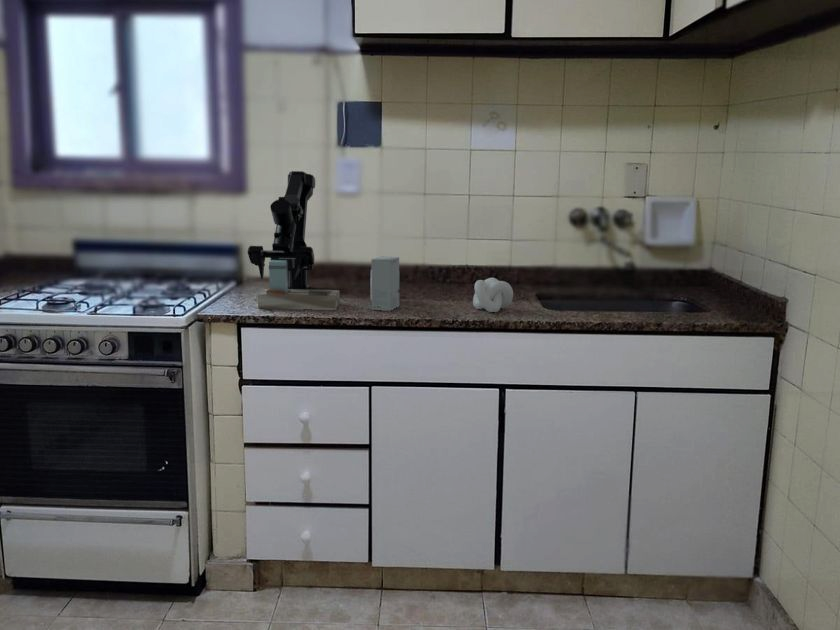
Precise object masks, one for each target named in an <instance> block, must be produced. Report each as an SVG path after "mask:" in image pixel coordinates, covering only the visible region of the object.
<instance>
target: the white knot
mask: <svg viewBox="0 0 840 630" xmlns="http://www.w3.org/2000/svg"><path fill="white" fill-rule="evenodd" d="M473 288H474V294H473V299H472V305H473V307H474V308H475V309H476V310H478V309H480V310H483V309H484V310H486V311H487V312H489V313H491V312H495V313H498V312H499V311H500V310H501V309H500V308H502V309H505V308H507V307H508V306H509V305H510V304H511V303H512V301H513V297H514V291H513V287H512V286H511V284H510V283H509V282H507V281H504V280H499V279H497V278H495V277H488V278H486V279H484V280H483V279H478V280H476V282H475V283H474V287H473Z"/></svg>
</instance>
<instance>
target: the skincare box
mask: <svg viewBox="0 0 840 630" xmlns="http://www.w3.org/2000/svg"><path fill="white" fill-rule="evenodd" d="M370 262H371V265H372V301H371V310H372V311H380V310H381V311H380V312H392V311H393V310H395V309H397V308H399V307H400V257H399V256H378V257H373V258H371V261H370ZM371 265H370V266H371ZM396 307H397V308H396ZM394 308H395V309H394ZM391 310H392V311H391Z"/></svg>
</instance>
